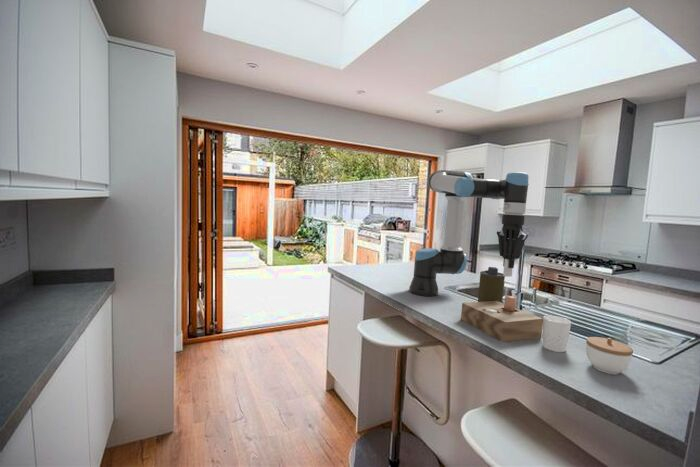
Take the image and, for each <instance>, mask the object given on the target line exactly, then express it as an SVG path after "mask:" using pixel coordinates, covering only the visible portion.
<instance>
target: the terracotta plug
mask: <svg viewBox="0 0 700 467" xmlns="http://www.w3.org/2000/svg"><path fill="white" fill-rule="evenodd" d="M516 306H517V297H515V296H513V295H505V296H504V310H506V311H508V312H515V308H517V307H516Z"/></svg>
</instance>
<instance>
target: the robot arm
mask: <svg viewBox="0 0 700 467" xmlns="http://www.w3.org/2000/svg"><path fill="white" fill-rule="evenodd" d="M427 185H428V187H429V189H430V190H432V191H433V192H435V193H441V194H445V195H444V196H445V199H446V200H447V205H446V216H445V217H446V218H445V226H444V227H445V228H444V236H443V237H444V239H443V245H442V246H441V247H440V251H439V249H438V248H432V247H431V248H429V247H427V248H420V249H418V250H416V251H415V254H414V267H413V278H412V280H411V281H410V285H409V287H408V291H409V293H410V294H411V293H412V294H413V295H417V296H424V297H435V296H438V295H439V288H438V283H437V274H444V275H445V274H446V275H459V274H462V273H463V272H464V271H465V269H466V267H467V263H468V258H467V255H466V253H464V249H463V248H462V234H463V227H464V226H463V224H464V214H465V203H466V201H467V200H468V199H469V198H479V199H480V198H482V199H491V200H503V210H502V213H503V214H502V218H501V224H502V225H503V226H502V228H501V230H497V231H496V235H497V238H498V248H499V249H498V250H499V256H500V257H502V258H503V265H502V266H503V272H502V274H503V276H505V277H512V276H513V269H514V268H515V262H516V260H519V259H520V258H521V255H522V251H523V248H524V244H525V242H526V240H527V238H528V237H529V235H528V234H525V233H524V232H523V230H524V229H523V226H524V224H525V219H526V218H525V215H524V214H526V208H527V206H526V205H527V197H528V190H529V174H528V173H526V172H518V171H517V172H509V173H507V174H506V177H505V179H491V178H490V179H489V178H488V179H487V178H479V177H478V178H477V177H476V178H475V177H473V175H472V174H471V173H470V172H468V171H461V170H460V171H459V170H448V169H447V170H445V169H444V170H443V169H440V170H436V171H434V172H432V173H431V174H430V175H429V176H428V178H427Z"/></svg>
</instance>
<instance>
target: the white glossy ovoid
mask: <svg viewBox="0 0 700 467" xmlns="http://www.w3.org/2000/svg"><path fill="white" fill-rule="evenodd" d="M486 312H489V313H491V314H493V313H497V311H496V310H493V309H486Z"/></svg>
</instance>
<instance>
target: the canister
mask: <svg viewBox="0 0 700 467" xmlns="http://www.w3.org/2000/svg"><path fill="white" fill-rule="evenodd" d="M498 271H499V268H497V267H495V266H488V269H486V270H481V271H480V274H479V275H480V276H479V283H478V294H477V295H478V296H477V302H486V301H499V302H501V303H503V300H504V298H503V297H504V290H505V288H504V286H505V277H506V276H503V272H498Z"/></svg>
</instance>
